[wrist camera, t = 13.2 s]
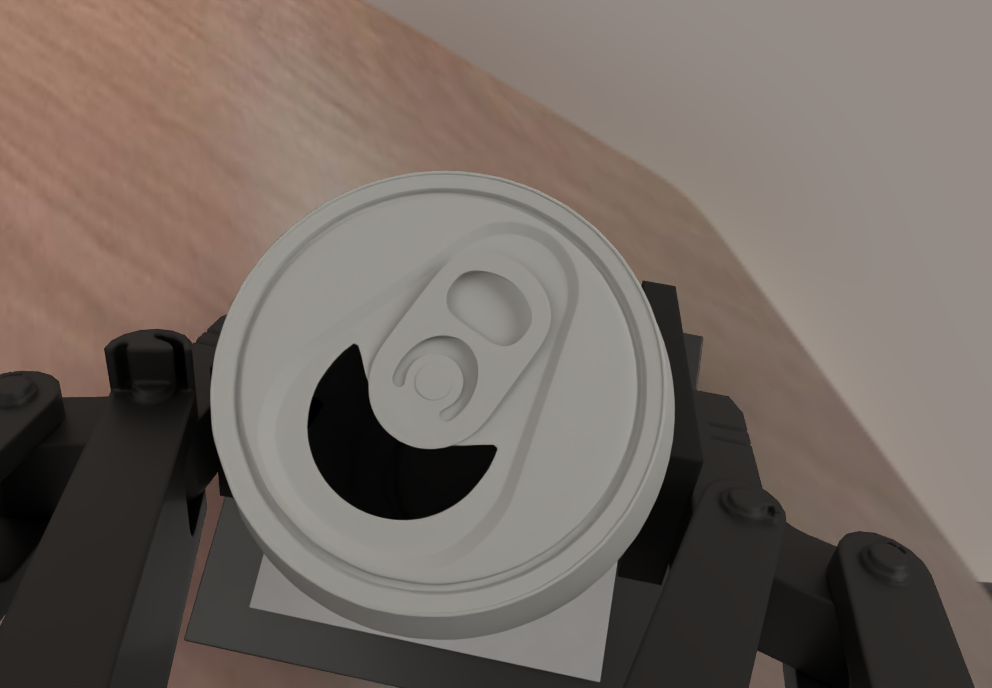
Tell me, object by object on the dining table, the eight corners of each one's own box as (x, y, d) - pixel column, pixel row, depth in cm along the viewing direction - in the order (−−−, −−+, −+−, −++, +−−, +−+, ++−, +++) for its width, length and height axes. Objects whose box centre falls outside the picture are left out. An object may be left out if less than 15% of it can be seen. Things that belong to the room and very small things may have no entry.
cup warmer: (701, 372, 32) (738, 339, 27) (659, 716, 28) (692, 754, 23) (323, 303, 33) (290, 259, 28) (235, 625, 30) (179, 641, 24)
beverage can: (315, 497, 20) (62, 432, 9) (454, 319, 22) (394, 58, 10) (500, 643, 19) (491, 788, 8) (634, 446, 21) (800, 318, 9)
